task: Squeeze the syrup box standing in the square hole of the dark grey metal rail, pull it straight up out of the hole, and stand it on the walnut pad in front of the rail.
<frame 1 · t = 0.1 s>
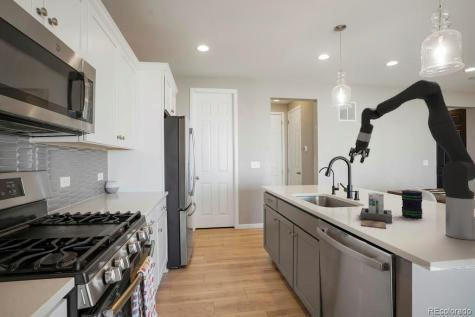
hand: (356, 162, 159), 31 cm above the worktop, tool tilted 20°, fingers open, 8 cm apart
storage jar: (411, 217, 140), on the worktop
syrup box: (376, 218, 137), resting in square-hole rail
walnut pad: (373, 224, 125), on the worktop
square-hole rail: (376, 218, 137), on the worktop
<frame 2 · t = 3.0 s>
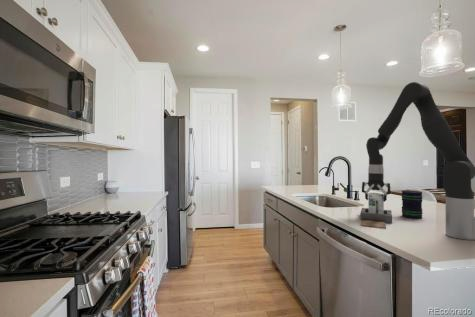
hand: (375, 200, 137), 10 cm above the worktop, tool pointing down, fingers open, 8 cm apart
nothing on the worktop moved.
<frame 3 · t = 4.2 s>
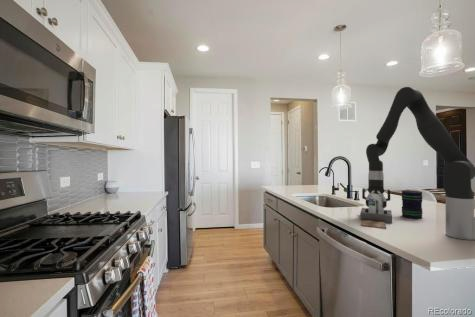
hand: (376, 207, 137), 7 cm above the worktop, tool pointing down, fingers closed on syrup box, 7 cm apart
syrup box: (376, 218, 137), resting in square-hole rail, touching gripper
everything else where it was.
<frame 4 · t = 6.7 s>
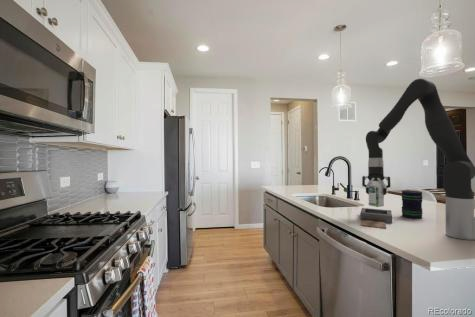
hand: (376, 194, 137), 14 cm above the worktop, tool pointing down, fingers closed on syrup box, 7 cm apart
syrup box: (376, 206, 137), point 7 cm above the worktop, touching gripper
everything else where it was.
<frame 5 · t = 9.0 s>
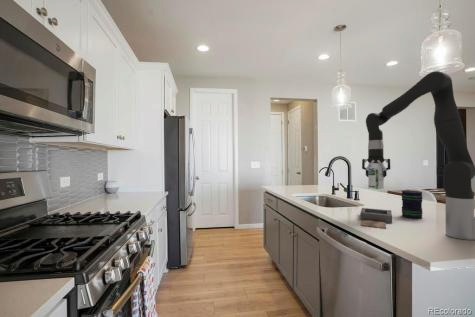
hand: (376, 177, 137), 24 cm above the worktop, tool pointing down, fingers closed on syrup box, 7 cm apart
syrup box: (376, 188, 137), point 17 cm above the worktop, touching gripper
everything else where it was.
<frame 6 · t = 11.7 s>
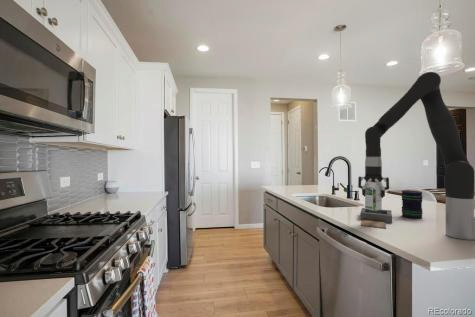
hand: (373, 196, 125), 14 cm above the worktop, tool pointing down, fingers closed on syrup box, 7 cm apart
syrup box: (373, 209, 125), point 8 cm above the worktop, touching gripper
everything else where it was.
when the fingers open (8 cm above the worktop, at t = 13.9 s): syrup box drops 1 cm, resting on walnut pad.
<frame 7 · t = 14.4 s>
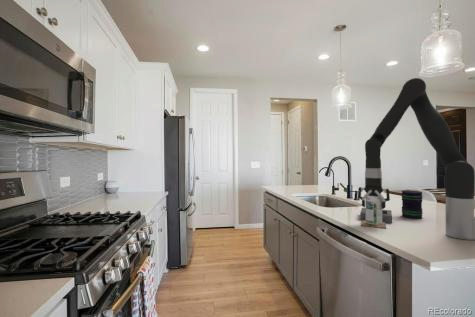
hand: (373, 208, 125), 9 cm above the worktop, tool pointing down, fingers open, 8 cm apart
syrup box: (373, 223, 125), resting on walnut pad, touching gripper
everything else where it was.
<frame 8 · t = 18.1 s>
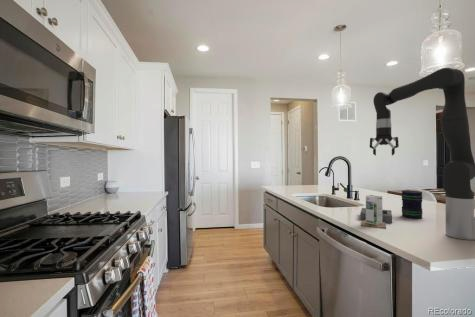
hand: (383, 155, 139), 36 cm above the worktop, tool pointing down, fingers open, 8 cm apart
syrup box: (373, 223, 125), resting on walnut pad
everything else where it was.
at the end: syrup box inside the target area on the walnut pad (0.3 cm from its centre), point 0.4 cm above the walnut pad's base; syrup box tilted 0°; the gripper is holding nothing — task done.
